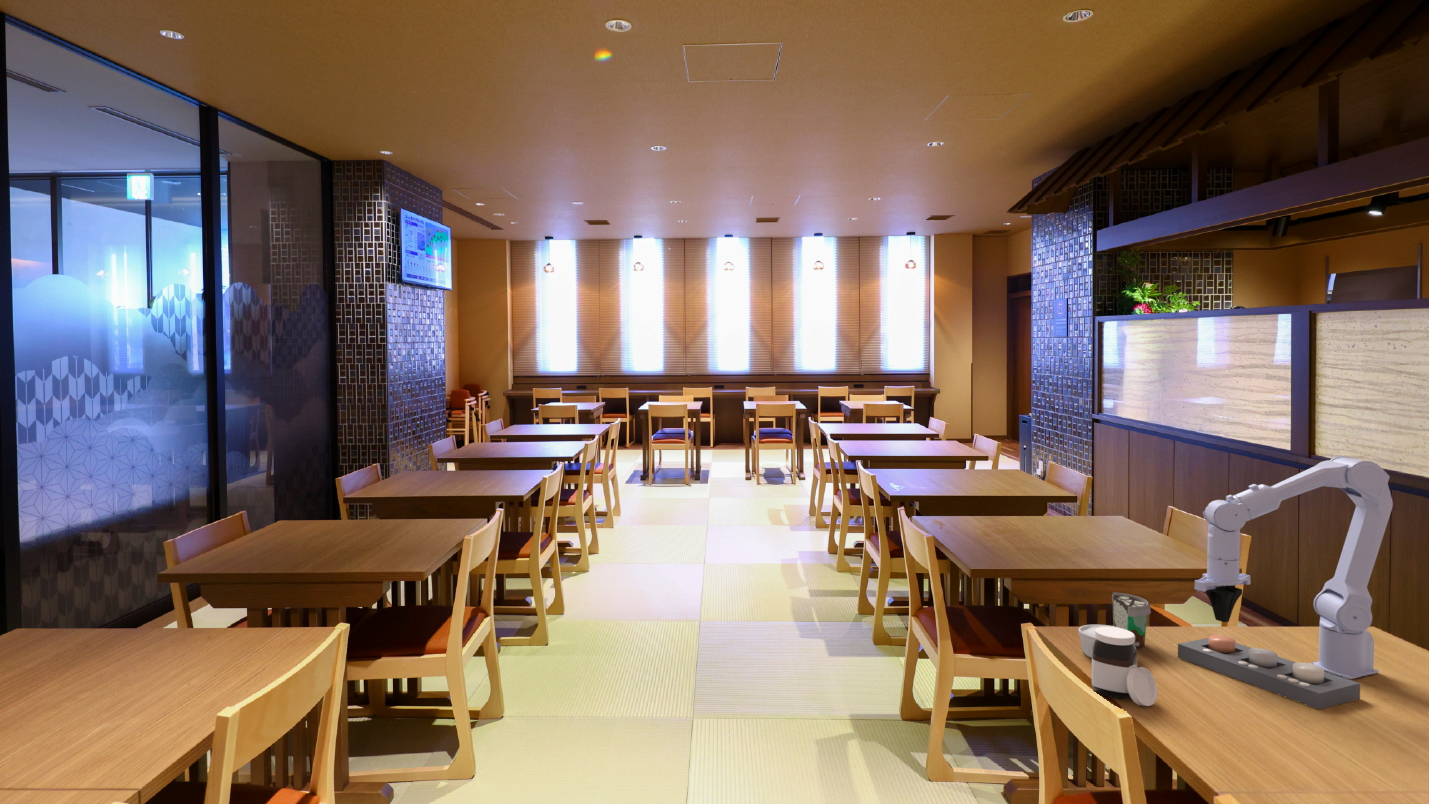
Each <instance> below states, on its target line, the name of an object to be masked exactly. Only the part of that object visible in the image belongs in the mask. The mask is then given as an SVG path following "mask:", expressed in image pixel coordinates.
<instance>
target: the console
mask: <svg viewBox="0 0 1429 804" xmlns="http://www.w3.org/2000/svg"><path fill="white" fill-rule="evenodd" d="M1208 645H1209V637H1206V638H1201V639H1196V640H1189V641H1186V642H1180V643H1177V658H1178V659H1182V660H1184V661H1187V662H1189V663H1192V664H1195V665H1198V666H1200V667H1202V666H1203V668H1206V669H1208V670H1211V671H1213V672H1216V671H1217V672H1216V673H1218V674H1221V675H1224V674H1225V675H1224V676H1226V677H1229V676H1231V677H1230V678H1232V677H1233V679H1235V680H1238V681H1241V682H1243V681H1244V683H1245V684H1248V685H1252V686H1254V687H1256V686H1257V688H1260V689H1261V690H1262V689H1263V690H1265V689H1266V690H1265V691H1267V690H1268V692H1270V691H1272V692H1271V693H1273V692H1274V693H1273V694H1275V693H1276V695H1278V694H1280V695H1279V696H1281V695H1282V696H1281V697H1284V696H1286V697H1287V699H1289V698H1290V699H1289V700H1292V699H1294V700H1295V702H1297V701H1299V702H1298V703H1300V702H1301V703H1300V704H1302V703H1303V704H1302V705H1305V704H1306V706H1308V707H1311V708H1314V709H1317V710H1322V709H1327V708H1331V707H1335V706H1339V705H1342V704H1346V703H1350V702H1353V701H1357V700H1356V699H1358V700H1360V699H1361V683H1360V682H1357V681H1354V680H1353V679H1347V678H1344V677H1341V676H1338V675H1335V674H1332V673H1329V672H1326V671H1324V682H1323V683H1319V684H1315V683H1308V682H1304V681H1301V680H1298V679H1295V678H1294V677H1293V676H1292V675H1293V663H1297V662H1296V661H1294V660H1290V659H1287V658H1284V657H1281V656H1278V659H1277V667H1274V668H1267V667H1261V666H1257V665H1254V664H1251V663H1250V662H1249V661H1248V655H1249V649H1251V648H1252V647H1250V646H1247V645H1243V644H1241V643H1238V642H1236V644H1235V653H1221V652H1217V651H1214V650H1211V649H1209V647H1208ZM1286 697H1285V698H1286ZM1294 700H1293V701H1294Z"/></svg>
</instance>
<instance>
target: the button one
mask: <svg viewBox="0 0 1429 804" xmlns="http://www.w3.org/2000/svg"><path fill="white" fill-rule="evenodd" d="M1208 638H1209V645H1208V647H1209V649H1211V650H1214V651H1217V652H1221V653H1235V644H1236V643H1237V641H1236V640H1235V639H1234V638H1232V637H1230V636H1226V635H1225V636H1224V635H1218V634H1214V635H1212V634H1211V635H1209V636H1208Z"/></svg>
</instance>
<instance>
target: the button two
mask: <svg viewBox="0 0 1429 804" xmlns="http://www.w3.org/2000/svg"><path fill="white" fill-rule="evenodd" d="M1250 648H1251V649H1249V655H1248V661H1249V662H1250V663H1251V664H1254V665H1257V666H1261V667H1267V668H1274V667H1277V659H1278V657H1279V656H1278V653H1277V652H1276V651H1275V652H1274V651H1272V650H1271V649H1270V650H1269V649H1265V648H1257V647H1255V648H1254V647H1250Z"/></svg>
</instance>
